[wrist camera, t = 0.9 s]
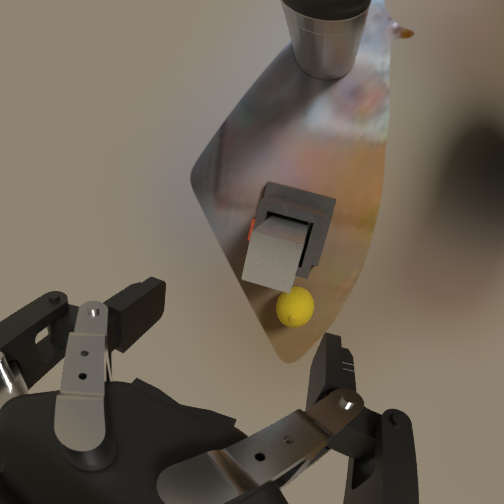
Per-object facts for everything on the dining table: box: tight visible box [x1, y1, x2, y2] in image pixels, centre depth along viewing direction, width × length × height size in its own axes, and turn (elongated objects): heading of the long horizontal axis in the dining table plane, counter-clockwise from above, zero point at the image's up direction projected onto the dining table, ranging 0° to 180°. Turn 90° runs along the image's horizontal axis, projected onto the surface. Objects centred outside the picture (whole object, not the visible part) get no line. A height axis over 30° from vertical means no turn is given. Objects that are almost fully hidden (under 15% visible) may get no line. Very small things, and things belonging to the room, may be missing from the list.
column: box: [241, 213, 310, 294], centre depth 30 cm, size 4×4×19 cm
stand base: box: [248, 182, 336, 279], centre depth 35 cm, size 10×10×12 cm
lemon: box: [276, 286, 314, 328], centre depth 39 cm, size 6×6×8 cm
